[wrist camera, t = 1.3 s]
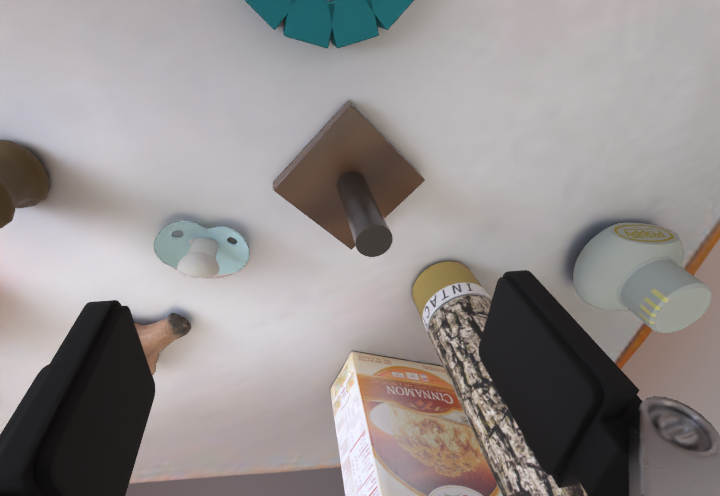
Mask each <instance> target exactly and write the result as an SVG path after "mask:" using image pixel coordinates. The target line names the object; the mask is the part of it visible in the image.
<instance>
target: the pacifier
mask: <svg viewBox="0 0 720 496" xmlns="http://www.w3.org/2000/svg"><path fill="white" fill-rule="evenodd" d="M175 230H180V231H182V232H183V235H182V236H180V237H175V236H173V235H172V232H173V231H175ZM229 237H233V238H235V239H236V240H237V243H236V244H231V243H230V242H229V241H228V238H229ZM154 250H155V253H156V255H157V257H159V258H160V260H161V261H162V262H164V263H165V264H167V265H169V266H171V267H174V268H175V269H176V270H178V271H179V272H180V273H181V274H183V275H186V276H190V277H196V278H220V277H225V276H228V275H231V274H233V273H235V272H237V271H239V270H241V269H242V268H243V267H244V266H245V265H246V264H247V262H248V259H249V247H248V244H247V242H246V240H245V239H244V237H243V236H242V235H241V234H240V233H239V232H237V231H236V230H234V229H232V228H229V227H224V226H218V227H213V228H205V227H203V226H201V225H200V224H197V223H195V222H190V221H179V222H175V223H172V224H169V225H168V226H166V227H164V228H163V229H162V230H161V231H160V232H159V234H158V235H157V237H156V239H155V242H154Z"/></svg>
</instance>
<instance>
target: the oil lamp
mask: <svg viewBox="0 0 720 496" xmlns="http://www.w3.org/2000/svg"><path fill="white" fill-rule="evenodd" d="M134 324H135V327H136V329H137V332H138V335H139V338H140V341H141V344H142V347H143V350H144V353H145V356H146V359H147V362H148V365H149V368H150V371H151V373H152V375H153V374H154V373H155V371H156V363H157V359H158V356H159V352H160V351H161V350H163V349H164V348H165V347H166V346H167V345H169V344H170V343H171V342H173V341H174V340H176V339H178V338H180V337H182V336H184V335H186V334H187V333H188V332H189V331H190V329H191V325H190V323H189V321H188V320H187V319H186V318H184V317H181V316H180V315H178V314H175V313H172V314H170V315H169V316H168V317H167V318H165V319H163V320H161V321H158V322H156V323H152V324H147V325H140V324H137V323H134Z"/></svg>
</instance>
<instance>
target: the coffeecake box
mask: <svg viewBox="0 0 720 496" xmlns="http://www.w3.org/2000/svg"><path fill="white" fill-rule="evenodd" d="M330 390H331V398H332V405H333V412H334V419H335V426H336V433H337V440H338V447H339V454H340V461H341V468H342V474H343V482H344V489H345V496H502V494H501V492H500V490H499V488H498V485H497V483H496V481H495V479H494V477H493V474H492V472H491V470H490V468H489V466H488V464H487V461H486V459H485V457H484V455H483V453H482V450H481V448H480V446H479V444H478V442H477V439H476V437H475V435H474V433H473V431H472V428H471V426H470V424H469V422H468V420H467V418H466V415H465V413H464V411H463V409H462V407H461V404H460V402H459V400H458V398H457V396H456V393H455V391H454V389H453V387H452V385H451V382H450V380H449V378H448V376H447V374H446V372H445V369H444V367H441V366H435V365H429V364H423V363H417V362H411V361H405V360H399V359H394V358H388V357H382V356H376V355H370V354H364V353H358V352H353V351H352V352H351V353H350V355H349V357H348V359H347V360H346V362H345V364H344V367H343V369H342V370H341V372H340V374H339V375H338V377H337V378H336V380H335V382H334V383H333V385H332V387H331V389H330Z"/></svg>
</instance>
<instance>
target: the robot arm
mask: <svg viewBox="0 0 720 496" xmlns="http://www.w3.org/2000/svg"><path fill="white" fill-rule="evenodd" d="M478 352H479V357H480V359H481V362H482V363H483V365H484V367H485V369H486V370H487V372H488V374H489V376H490V377H491V379H492V381H493V383H494V385H495V386H496V388H497V390H498V392H499V393H500V395H501V397H502V399H503V400H504V402H505V404H506V406H507V408H508V409H509V411H510V413H511V415H512V416H513V418H514V420H515V422H516V424H517V425H518V427H519V429H520V431H521V432H522V434H523V436H524V438H525V439H526V441H527V443H528V445H529V447H530V448H531V450H532V452H533V454H534V455H535V457H536V459H537V461H538V462H539V464H540V466H541V468H542V469H543V471H544V472H545V473H546V474H548V475H551V476H552V478H553V479H554V481H555V483H556V485H557V486H558V488H563V487H569V486H574V485H579V484H581V486H582V487H583V489H584V490H585V492H586V496H720V436H719V433H718V432H717V431H716V429H715V428H714V427H713V425H712V424H711V423H710V422H709V421H708V420H707V419H705V418H704V417H703V416H702V415H701V414H700V413H698V412H697V411H695V410H694V409H692V408H691V407H689V406H687V405H685V404H683V403H681V402H679V401H676V400H673V399H670V398H666V397H658V396H653V397H649V398H646V399H645V400H644V401H642V400H640V398H639V397H638V396H637V393H638V391H639V389H638V388H637V387H636V386H635V385H634V384H633V383H632V382H631V381H630V379H629V378H628V377H627V376H626V375H625V374H624V373H623V372H622V371H621V370H620V369H619V368H618V366H617V365H616V364H615V363H614V362H613V361H612V360H611V359H610V358H609V357H608V356H607V355H606V353H605V352H604V351H603V350H602V349H601V348H600V347H599V346H598V345H597V344H596V343H595V342H594V340H593V339H592V338H591V337H590V336H589V335H588V334H587V333H586V332H585V331H584V330H583V328H582V327H581V326H580V325H579V324H578V323H577V322H576V321H575V320H574V319H573V318H572V317H571V315H570V314H569V313H568V312H567V311H566V310H565V309H564V308H563V307H562V306H561V305H560V304H559V302H558V301H557V300H556V299H555V298H554V297H553V296H552V295H551V294H550V293H549V292H548V291H547V289H546V288H545V287H544V286H543V285H542V284H541V283H540V282H539V281H538V280H537V279H536V278H535V276H534V275H533V274H532V273H531V272H529V271H527V270H524V271H510V272H506V273H505V274H504V275H503V277H501V278H499V279H498V282H497V285H496V288H495V292H494V295H493V299H492V302H491V306H490V309H489V313H488V316H487V320H486V323H485V326H484V330H483V333H482V337H481V340H480V344H479V348H478ZM154 396H155V383H154V379H153V376H152V373H151V371H150V368H149V365H148V362H147V359H146V356H145V353H144V350H143V347H142V344H141V341H140V338H139V335H138V332H137V329H136V327H135V324H134V321H133V318H132V315H131V312H130V309H129V308H128V307H127V306H121V304H120V303H119V302H118V301H116V300H113V301H100V302H89V303H87V304H86V305H85V307H84V308H83V310H82V311H81V313H80V315H79V316H78V318H77V320H76V321H75V323H74V325H73V326H72V328H71V330H70V331H69V333H68V335H67V336H66V338H65V340H64V341H63V343H62V345H61V346H60V348H59V349H58V351H57V353H56V354H55V356H54V358H53V359H52V361H51V363H50V364H49V365H47V366H45V367H44V368H43V369H42V370H41V371H40V372H39V373H38V375H37V376H36V378H35V380H34V381H33V383H32V385H31V386H30V388H29V389H28V391H27V393H26V394H25V396H24V397H23V399H22V401H21V402H20V404H19V405H18V407H17V409H16V410H15V412H14V414H13V415H12V417H11V418H10V420H9V422H8V423H7V425H6V426H5V428H4V430H3V431H2V433H1V435H0V496H125V494H126V491H127V488H128V484H129V481H130V477H131V474H132V471H133V467H134V464H135V460H136V457H137V454H138V450H139V447H140V444H141V440H142V437H143V433H144V430H145V427H146V423H147V420H148V417H149V413H150V410H151V406H152V403H153V400H154Z"/></svg>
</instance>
